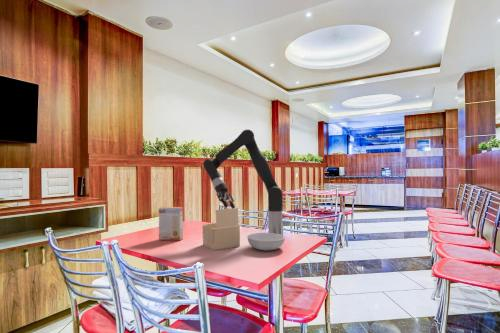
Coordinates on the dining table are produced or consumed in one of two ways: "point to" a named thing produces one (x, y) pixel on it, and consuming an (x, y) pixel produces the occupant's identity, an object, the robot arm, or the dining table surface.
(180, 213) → the cracker box
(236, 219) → the carton flap
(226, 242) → the carton
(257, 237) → the serving bowl
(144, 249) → the dining table surface
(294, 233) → the dining table surface
